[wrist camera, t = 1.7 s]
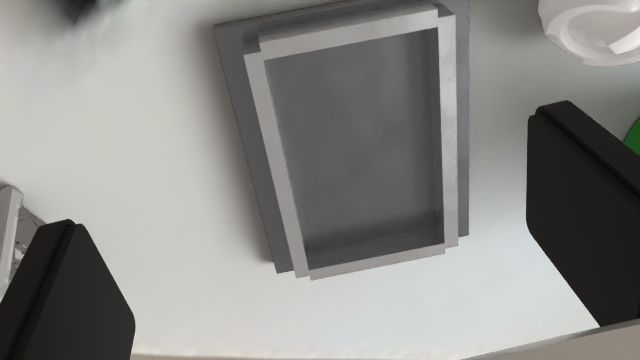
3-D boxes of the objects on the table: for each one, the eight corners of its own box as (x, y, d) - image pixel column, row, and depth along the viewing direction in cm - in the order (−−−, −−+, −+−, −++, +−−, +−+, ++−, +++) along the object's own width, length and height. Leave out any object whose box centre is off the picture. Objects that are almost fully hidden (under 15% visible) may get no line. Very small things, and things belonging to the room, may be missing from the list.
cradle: (213, 25, 32) (211, 42, 29) (461, -22, 33) (482, -9, 30) (275, 263, 43) (278, 292, 40) (463, 225, 43) (478, 252, 40)
